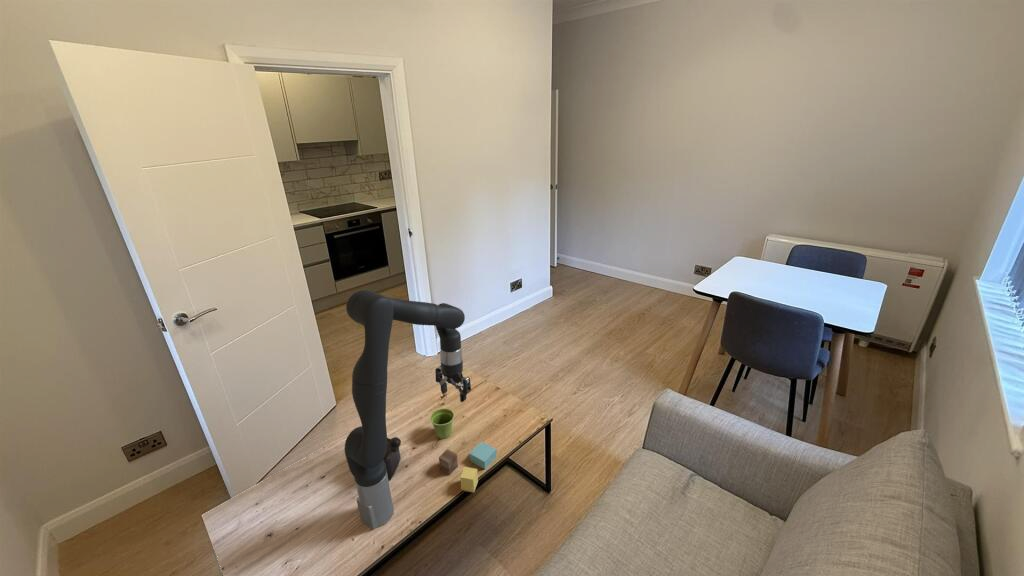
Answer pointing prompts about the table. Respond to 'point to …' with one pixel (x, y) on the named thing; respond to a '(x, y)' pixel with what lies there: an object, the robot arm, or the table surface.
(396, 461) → the dark brown ornament
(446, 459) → the walnut block
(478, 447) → the teal plinth block
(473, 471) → the mustard block
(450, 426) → the plant pot
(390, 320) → the robot arm
